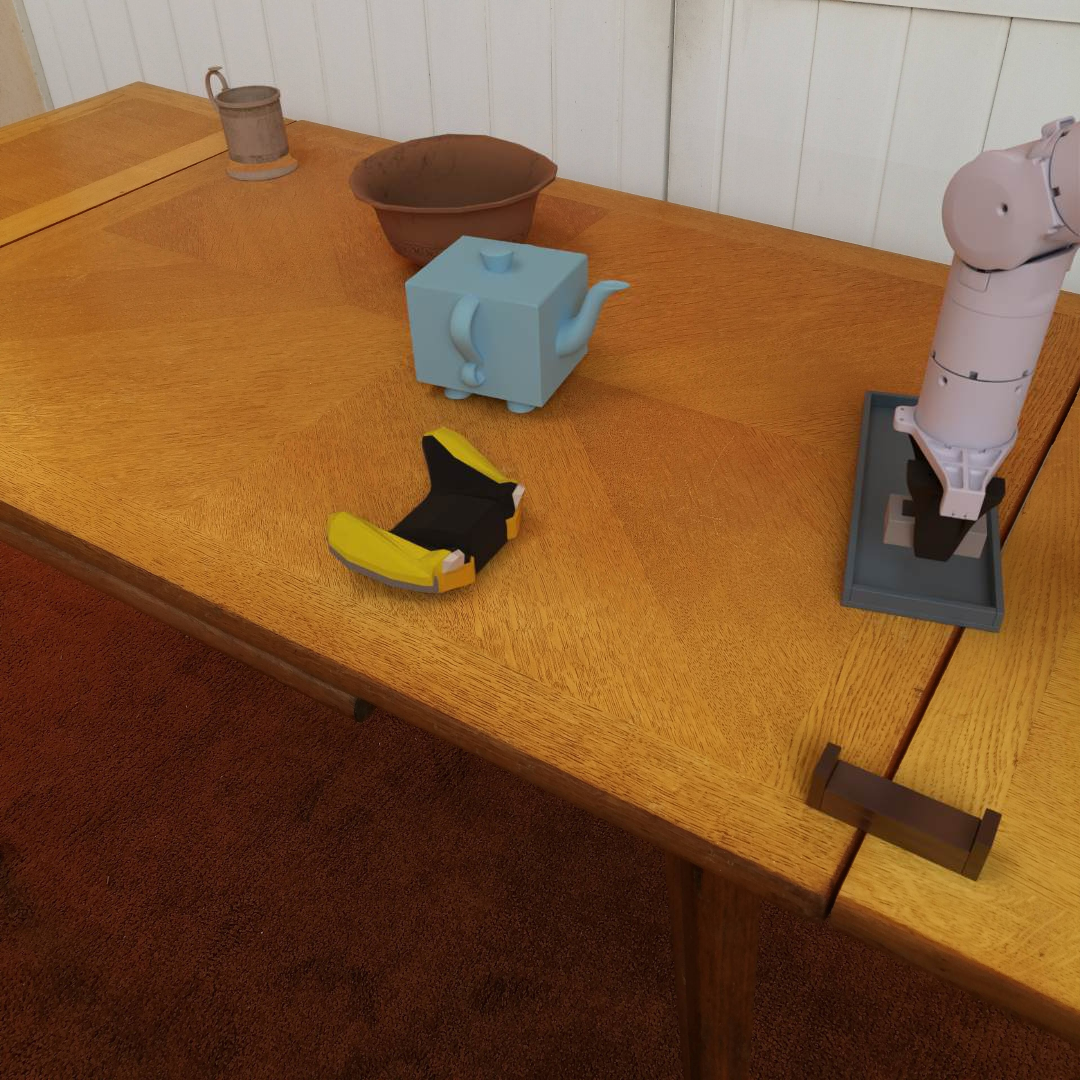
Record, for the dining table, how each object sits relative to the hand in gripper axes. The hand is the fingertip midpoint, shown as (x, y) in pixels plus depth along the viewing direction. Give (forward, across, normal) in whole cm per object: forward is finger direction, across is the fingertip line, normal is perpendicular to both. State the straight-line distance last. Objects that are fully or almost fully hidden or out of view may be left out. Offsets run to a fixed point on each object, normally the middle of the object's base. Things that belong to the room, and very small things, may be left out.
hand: (931, 539), depth 66 cm
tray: (+4, -10, 0) cm, 10 cm away
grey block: (0, 0, 0) cm, 0 cm away
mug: (+4, -66, -90) cm, 112 cm away
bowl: (+4, -42, -49) cm, 65 cm away
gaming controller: (+4, +4, -34) cm, 34 cm away
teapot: (+4, -19, -34) cm, 39 cm away
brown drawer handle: (+4, +20, -1) cm, 21 cm away
